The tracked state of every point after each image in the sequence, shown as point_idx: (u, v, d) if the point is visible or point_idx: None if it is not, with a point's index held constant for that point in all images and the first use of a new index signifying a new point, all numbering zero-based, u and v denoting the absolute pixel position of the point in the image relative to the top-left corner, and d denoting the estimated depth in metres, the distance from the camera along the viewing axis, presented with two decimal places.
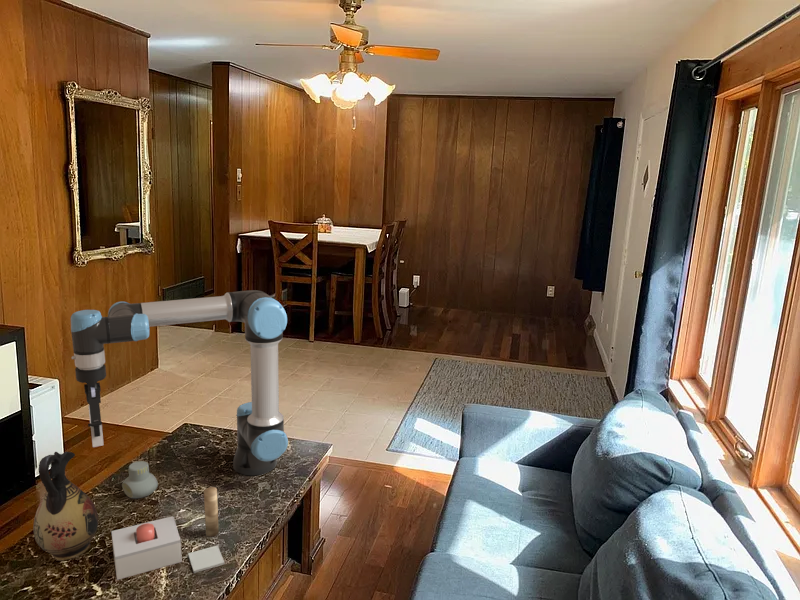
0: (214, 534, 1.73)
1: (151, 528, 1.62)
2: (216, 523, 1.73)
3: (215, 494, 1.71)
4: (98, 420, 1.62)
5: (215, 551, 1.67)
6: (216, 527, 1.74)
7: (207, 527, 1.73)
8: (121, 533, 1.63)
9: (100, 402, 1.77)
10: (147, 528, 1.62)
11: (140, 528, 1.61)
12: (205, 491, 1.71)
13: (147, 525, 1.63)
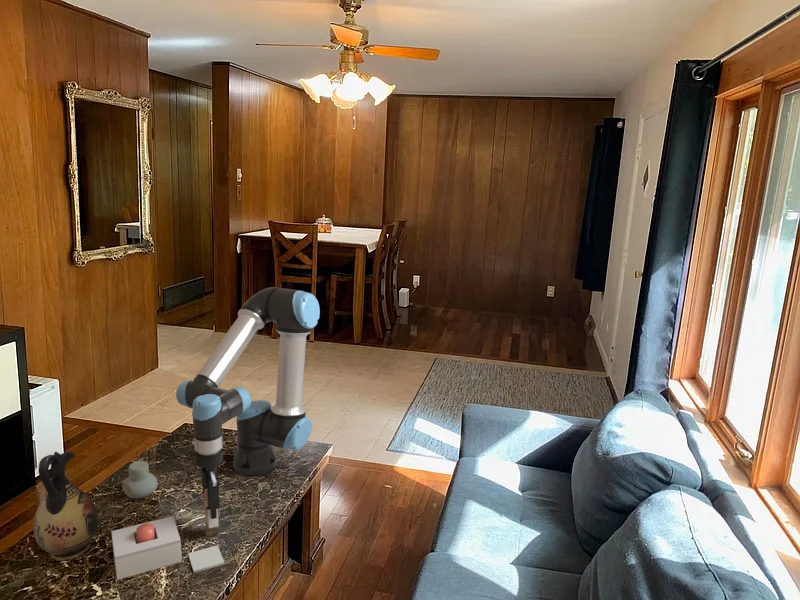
0: (214, 534, 1.73)
1: (151, 528, 1.62)
2: None
3: None
4: (217, 505, 1.68)
5: (215, 551, 1.67)
6: (216, 527, 1.74)
7: (207, 527, 1.73)
8: (121, 533, 1.63)
9: None
10: (147, 528, 1.62)
11: (140, 528, 1.61)
12: (205, 491, 1.71)
13: (147, 525, 1.63)
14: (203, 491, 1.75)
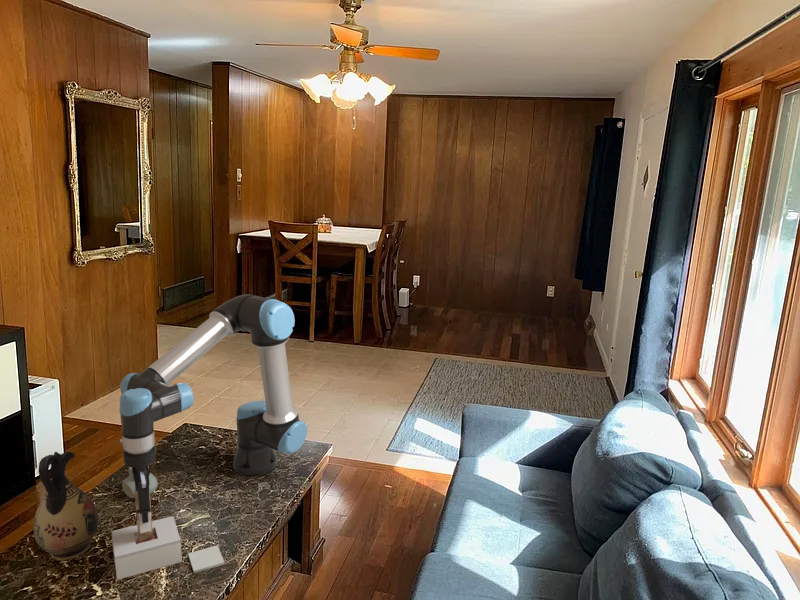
0: (147, 540, 1.61)
1: None
2: None
3: None
4: (147, 509, 1.55)
5: (215, 551, 1.67)
6: (149, 532, 1.61)
7: (139, 532, 1.60)
8: (121, 533, 1.63)
9: None
10: None
11: None
12: (136, 493, 1.58)
13: None
14: None
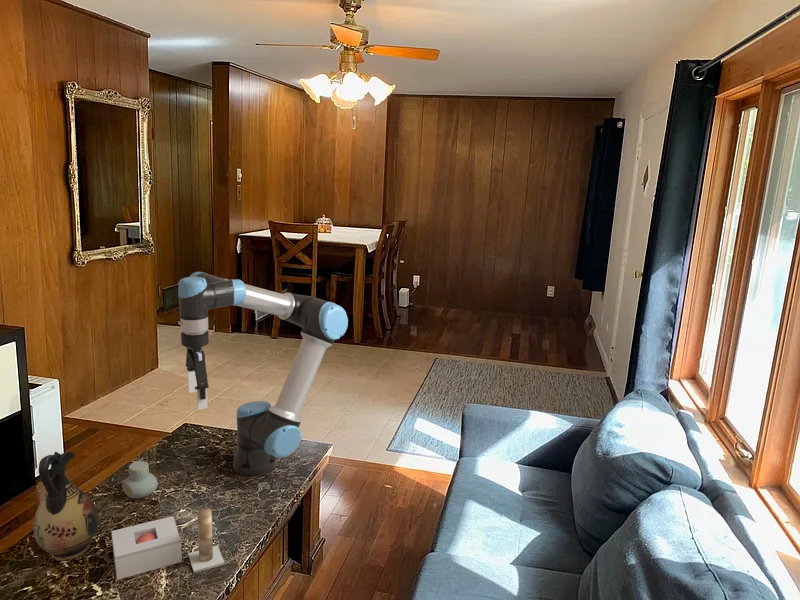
0: (208, 559, 1.62)
1: (152, 538, 1.62)
2: (210, 547, 1.62)
3: (209, 516, 1.60)
4: (205, 383, 1.67)
5: (215, 551, 1.67)
6: (210, 551, 1.62)
7: (200, 551, 1.61)
8: (121, 533, 1.63)
9: None
10: (148, 538, 1.62)
11: (141, 538, 1.62)
12: (199, 513, 1.60)
13: (148, 535, 1.64)
14: (186, 366, 1.82)
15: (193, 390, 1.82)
